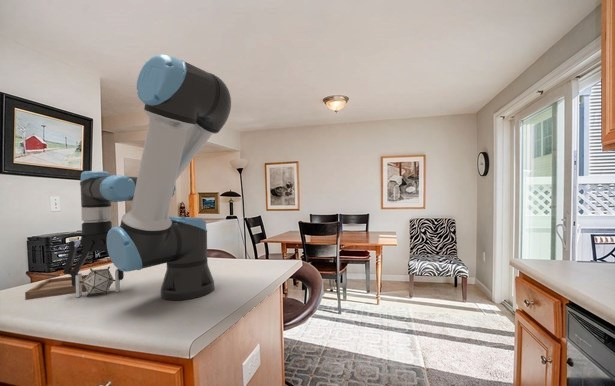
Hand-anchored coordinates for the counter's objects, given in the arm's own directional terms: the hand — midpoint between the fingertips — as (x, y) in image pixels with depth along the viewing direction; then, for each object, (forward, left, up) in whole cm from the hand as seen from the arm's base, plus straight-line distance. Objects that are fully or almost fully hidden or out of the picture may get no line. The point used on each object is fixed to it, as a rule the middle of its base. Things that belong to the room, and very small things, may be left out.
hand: (99, 293), depth 89 cm
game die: (0, 0, 0) cm, 0 cm away
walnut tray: (+12, +12, 0) cm, 17 cm away
